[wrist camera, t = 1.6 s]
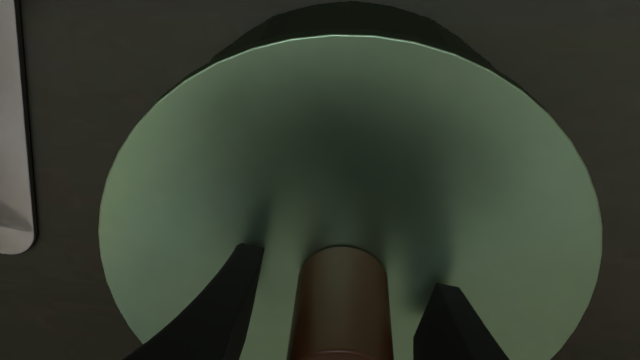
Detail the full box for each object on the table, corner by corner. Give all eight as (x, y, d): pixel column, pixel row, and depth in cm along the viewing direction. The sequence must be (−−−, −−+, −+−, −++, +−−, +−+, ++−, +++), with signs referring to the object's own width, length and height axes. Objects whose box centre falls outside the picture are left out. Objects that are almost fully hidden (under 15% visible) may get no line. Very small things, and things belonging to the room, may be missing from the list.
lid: (112, 365, 18) (42, 504, 14) (116, -39, 11) (-13, 3, 7) (482, 435, 19) (516, 587, 15) (688, 91, 12) (852, 196, 8)
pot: (170, 267, 22) (120, 372, 17) (196, -39, 16) (128, -6, 11) (452, 324, 22) (477, 440, 18) (580, 49, 16) (669, 117, 12)
